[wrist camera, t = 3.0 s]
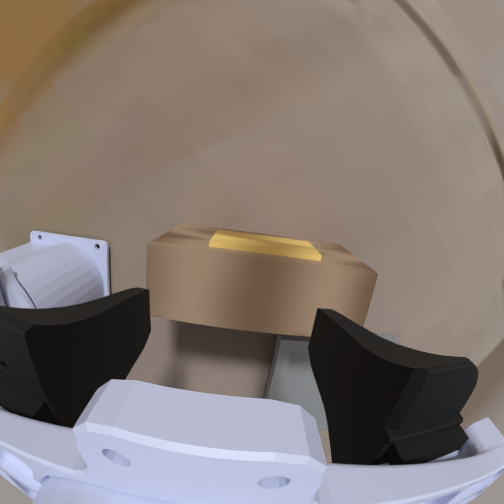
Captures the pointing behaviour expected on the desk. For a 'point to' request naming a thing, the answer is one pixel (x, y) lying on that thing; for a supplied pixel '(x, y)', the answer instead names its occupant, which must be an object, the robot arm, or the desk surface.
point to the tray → (298, 376)
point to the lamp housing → (253, 280)
